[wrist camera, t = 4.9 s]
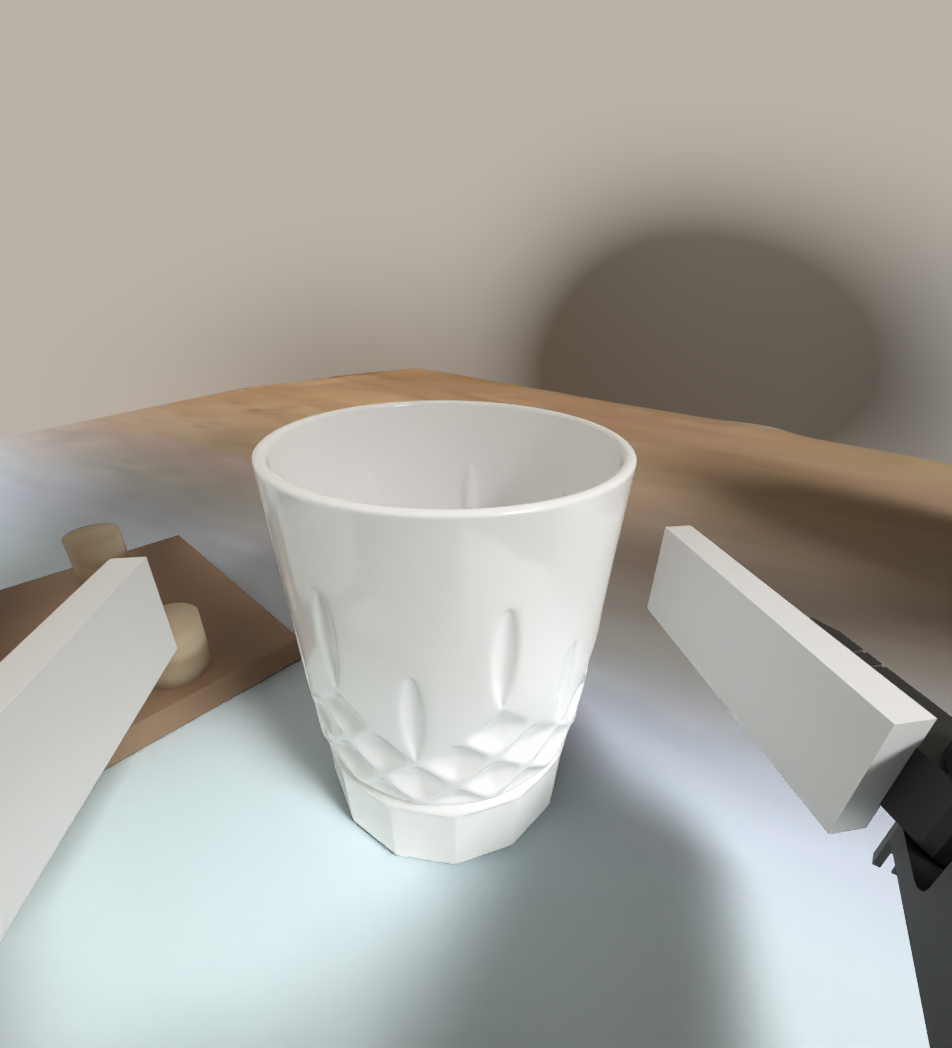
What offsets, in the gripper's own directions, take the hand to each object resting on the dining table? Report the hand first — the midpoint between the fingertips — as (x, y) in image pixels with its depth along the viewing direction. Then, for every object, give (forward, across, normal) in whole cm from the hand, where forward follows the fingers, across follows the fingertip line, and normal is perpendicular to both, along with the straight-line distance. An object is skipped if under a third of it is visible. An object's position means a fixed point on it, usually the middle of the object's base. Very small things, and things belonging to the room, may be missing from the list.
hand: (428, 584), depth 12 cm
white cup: (0, 0, -6) cm, 6 cm away
